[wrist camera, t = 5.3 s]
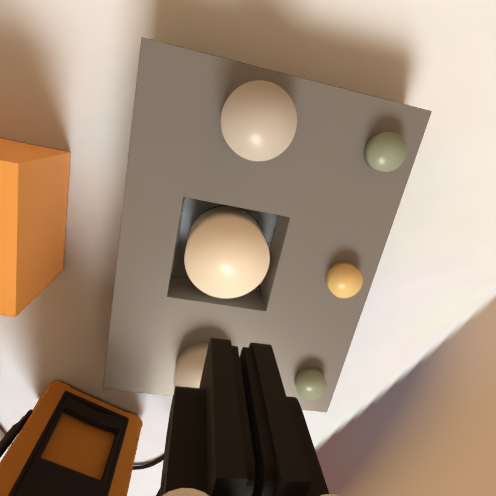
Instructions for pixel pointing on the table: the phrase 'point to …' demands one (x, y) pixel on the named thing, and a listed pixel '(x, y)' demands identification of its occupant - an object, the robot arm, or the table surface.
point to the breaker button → (226, 253)
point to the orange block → (30, 220)
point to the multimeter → (70, 447)
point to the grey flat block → (258, 199)
